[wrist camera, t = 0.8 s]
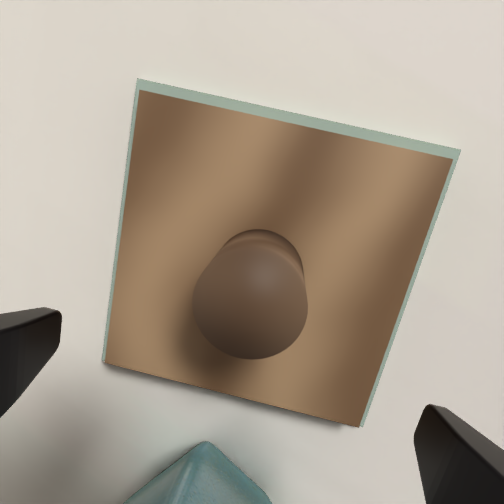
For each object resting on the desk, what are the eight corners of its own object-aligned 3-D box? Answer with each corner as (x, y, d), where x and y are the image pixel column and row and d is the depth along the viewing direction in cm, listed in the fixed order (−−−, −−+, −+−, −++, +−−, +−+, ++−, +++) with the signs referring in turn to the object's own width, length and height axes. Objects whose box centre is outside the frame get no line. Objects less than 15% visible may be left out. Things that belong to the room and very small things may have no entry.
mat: (455, 150, 16) (461, 149, 15) (360, 420, 19) (362, 426, 19) (141, 80, 16) (137, 78, 16) (106, 355, 20) (101, 360, 19)
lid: (445, 159, 15) (513, 158, 11) (356, 416, 19) (378, 501, 14) (146, 93, 16) (87, 64, 11) (112, 354, 19) (55, 416, 14)
